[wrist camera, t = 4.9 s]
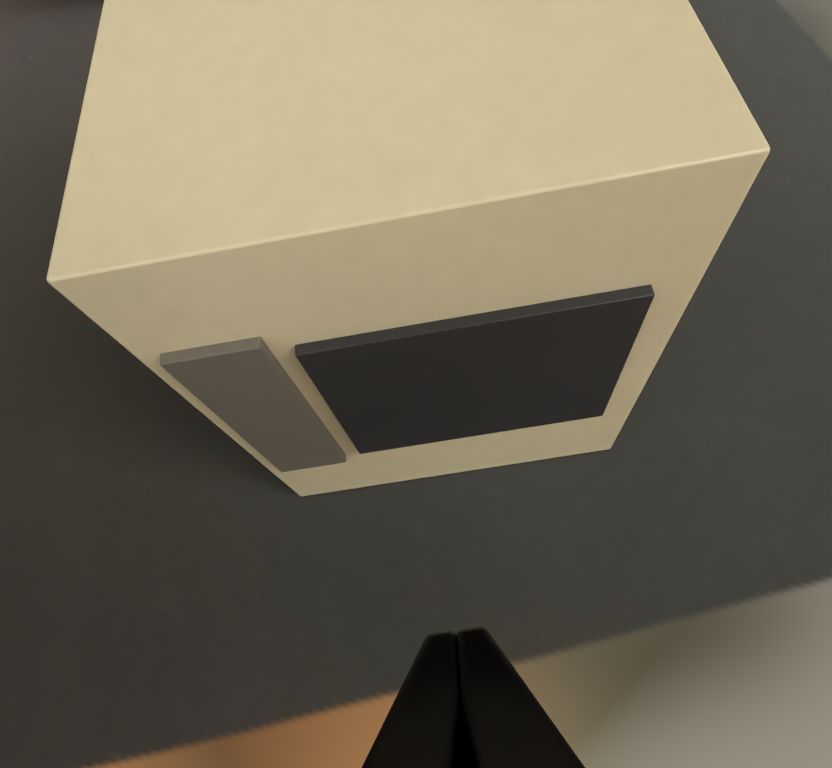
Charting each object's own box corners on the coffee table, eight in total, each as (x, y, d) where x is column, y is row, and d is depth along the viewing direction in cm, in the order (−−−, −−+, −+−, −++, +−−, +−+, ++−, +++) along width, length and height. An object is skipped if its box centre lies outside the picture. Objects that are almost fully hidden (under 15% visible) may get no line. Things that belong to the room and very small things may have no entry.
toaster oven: (612, 456, 20) (779, 161, 8) (300, 504, 20) (41, 294, 9) (536, 192, 25) (572, -211, 14) (292, 236, 26) (126, -112, 14)
